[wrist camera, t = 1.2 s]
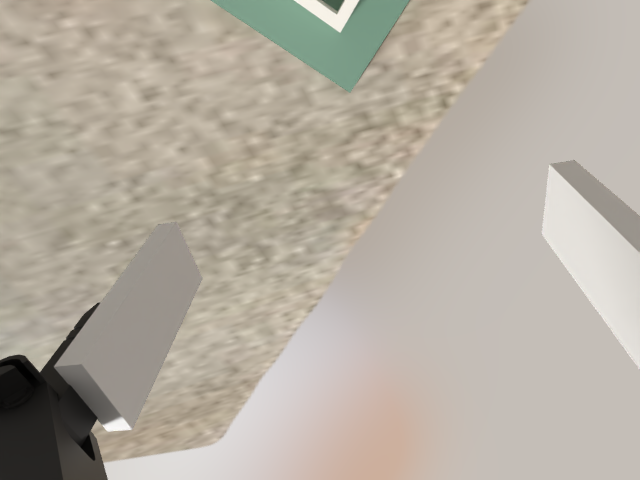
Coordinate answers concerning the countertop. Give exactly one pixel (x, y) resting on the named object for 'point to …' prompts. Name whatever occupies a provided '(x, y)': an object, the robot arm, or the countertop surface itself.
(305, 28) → the header board
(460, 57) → the countertop surface
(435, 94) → the countertop surface
